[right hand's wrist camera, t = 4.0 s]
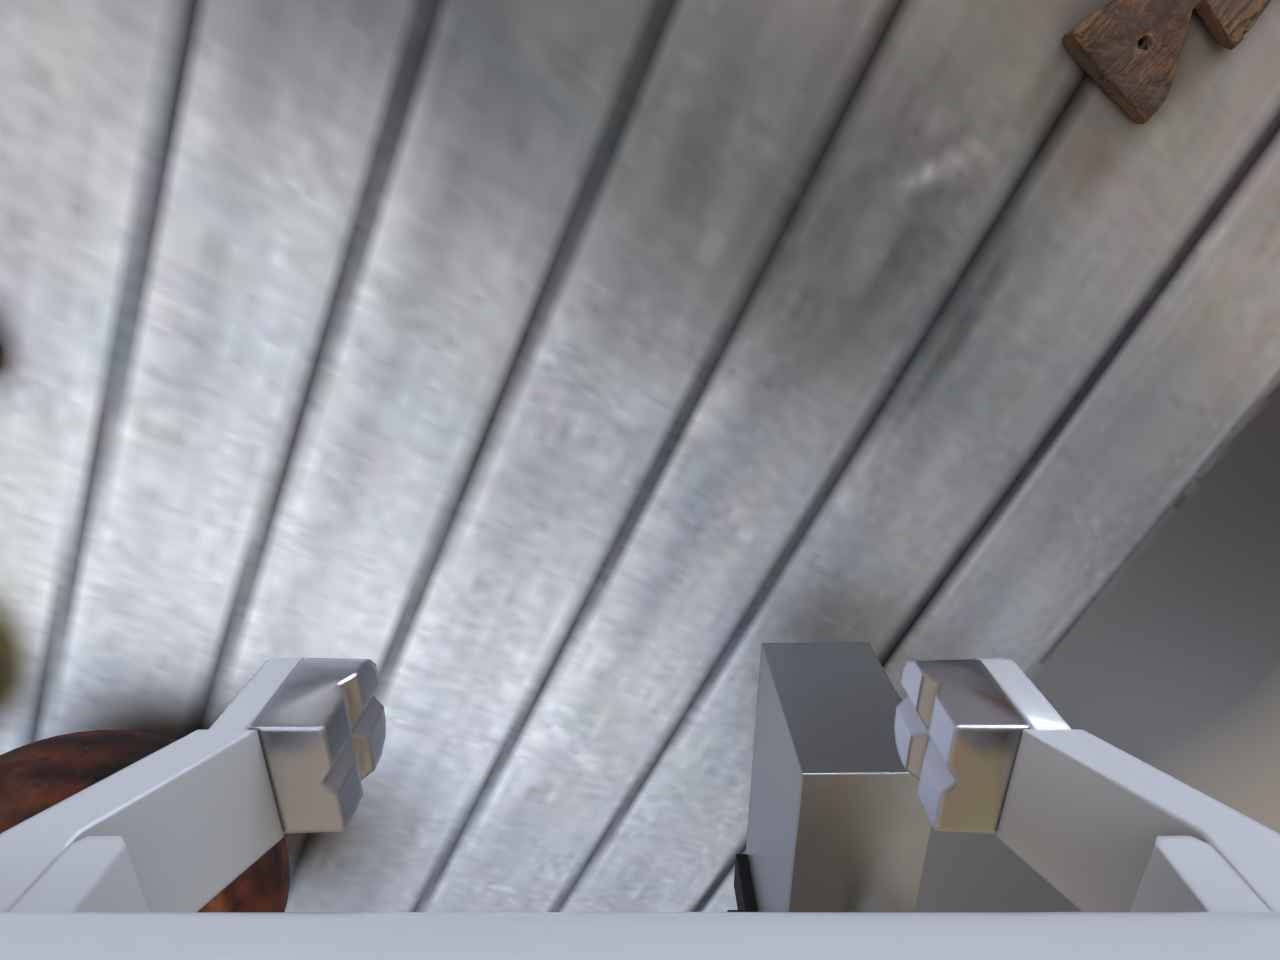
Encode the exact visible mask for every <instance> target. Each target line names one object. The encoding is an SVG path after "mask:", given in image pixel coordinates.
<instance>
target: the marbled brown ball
mask: <svg viewBox="0 0 1280 960" xmlns="http://www.w3.org/2000/svg"><path fill="white" fill-rule="evenodd" d="M177 740H178V739H174V738H171V737H167V736H162V735H158V734H153V733H146V732H139V731H127V730H97V731H87V732H76V733H71V734H65V735H59V736H55V737H51V738H47V739H43V740H40V741H37V742H34V743H31V744H28V745H25V746H22V747H19V748H16V749H14V750H12V751H9V752H7V753H5V754H2V755H0V834H1V833H2V832H4V831H6V830H8V829H10V828H12V827H14V826H16V825H18V824H20V823H21V822H23V821H25V820H27V819H29V818H31V817H33V816H35V815H37V814H38V813H40V812H42V811H44V810H46V809H48V808H50V807H52V806H54V805H56V804H57V803H59V802H61V801H63V800H65V799H67V798H69V797H71V796H73V795H75V794H76V793H78V792H80V791H82V790H84V789H86V788H88V787H90V786H92V785H93V784H95V783H97V782H99V781H101V780H103V779H105V778H107V777H109V776H111V775H112V774H114V773H116V772H118V771H120V770H122V769H124V768H126V767H128V766H130V765H131V764H133V763H135V762H137V761H139V760H141V759H143V758H145V757H147V756H148V755H150V754H152V753H154V752H156V751H158V750H160V749H162V748H164V747H166V746H167V745H169V744H171V743H173V742H175V741H177ZM289 877H290V871H289V858H288V853H287V848H286V843H285V839H284V837H283V838H282V839H281V840H280V841H279V842H277V843H276V844H275V845H274V846H273V847H272V848H271V849H269V850H268V851H267V852H266V853H265V854H264V855H262V856H261V857H260V858H259V859H258V860H257V861H256V862H254V863H253V864H252V865H251V866H250V867H249V868H247V869H246V870H245V871H244V872H243V873H242V874H241V875H239V876H238V877H237V878H236V879H235V880H234V881H232V882H231V883H230V884H229V885H228V886H227V887H226V888H224V889H223V890H222V891H221V892H220V893H219V894H217V895H216V896H215V897H214V898H213V899H212V900H211V901H209V902H208V903H207V904H206V905H205V906H204V907H202V908H201V909H200V910H199V911H198V912H284V911H285V907H286V903H287V898H288V891H289Z"/></svg>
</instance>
